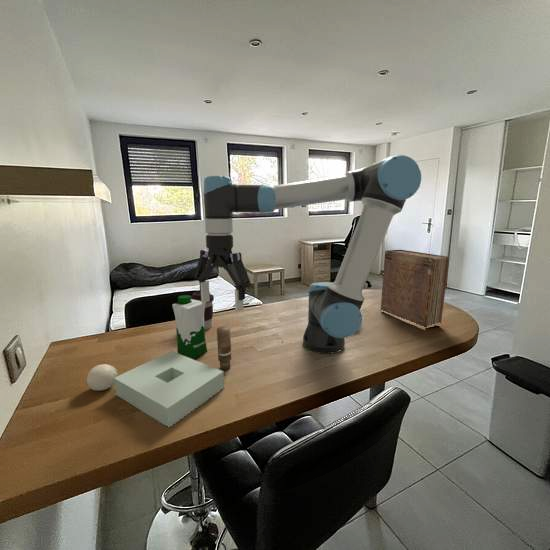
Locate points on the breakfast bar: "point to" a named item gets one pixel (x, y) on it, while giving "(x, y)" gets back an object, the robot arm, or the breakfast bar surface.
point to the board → (169, 386)
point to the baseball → (101, 377)
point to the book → (414, 286)
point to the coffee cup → (208, 309)
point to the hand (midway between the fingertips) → (221, 306)
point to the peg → (224, 347)
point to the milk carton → (190, 326)
